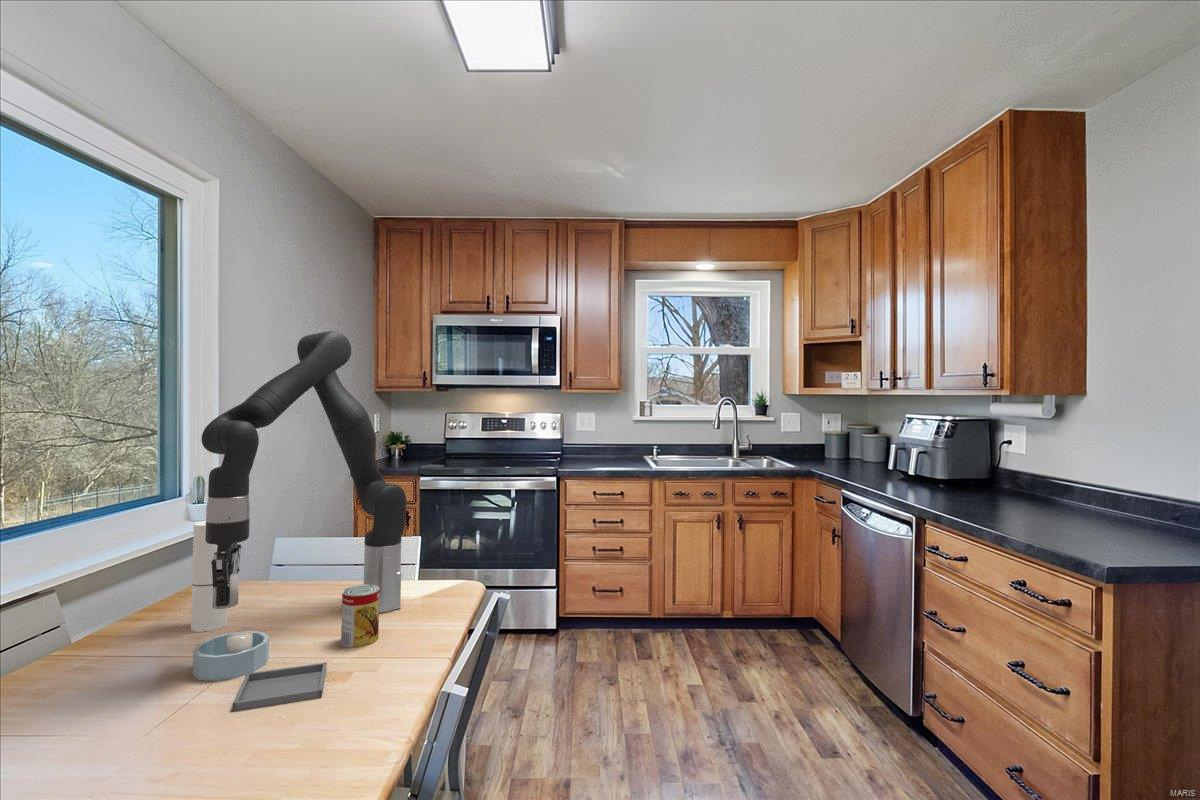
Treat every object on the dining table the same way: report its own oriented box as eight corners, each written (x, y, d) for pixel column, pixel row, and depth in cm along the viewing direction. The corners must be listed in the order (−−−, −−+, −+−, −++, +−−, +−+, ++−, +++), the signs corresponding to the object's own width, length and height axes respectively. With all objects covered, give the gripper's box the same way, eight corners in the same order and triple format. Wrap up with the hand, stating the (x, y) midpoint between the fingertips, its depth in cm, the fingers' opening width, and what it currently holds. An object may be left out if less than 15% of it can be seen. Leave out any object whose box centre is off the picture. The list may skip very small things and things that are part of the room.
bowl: (272, 651, 124) (272, 628, 124) (261, 676, 112) (262, 651, 112) (203, 659, 119) (204, 635, 119) (185, 687, 107) (186, 661, 108)
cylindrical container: (233, 621, 140) (236, 520, 140) (211, 632, 133) (214, 526, 133) (207, 619, 141) (209, 519, 141) (183, 631, 134) (186, 525, 134)
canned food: (385, 639, 131) (387, 587, 131) (358, 652, 124) (359, 597, 124) (361, 633, 134) (362, 582, 135) (333, 645, 127) (334, 591, 128)
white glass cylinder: (253, 659, 118) (254, 630, 118) (249, 668, 114) (250, 638, 114) (228, 662, 116) (229, 633, 116) (223, 671, 112) (224, 641, 112)
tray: (326, 671, 115) (326, 662, 115) (321, 699, 104) (321, 690, 104) (246, 682, 110) (246, 673, 110) (232, 714, 99) (232, 703, 99)
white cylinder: (240, 600, 119) (241, 571, 119) (235, 607, 114) (236, 577, 115) (215, 602, 117) (216, 573, 117) (209, 610, 113) (210, 579, 113)
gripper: (242, 523, 111) (239, 611, 111) (255, 510, 124) (253, 589, 124) (196, 525, 108) (193, 616, 108) (215, 512, 121) (213, 592, 121)
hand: (225, 601), depth 116 cm, fingers closed on white cylinder, 4 cm apart
